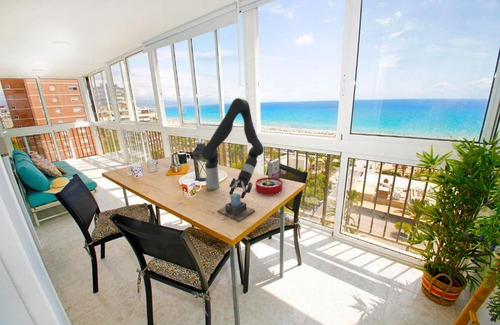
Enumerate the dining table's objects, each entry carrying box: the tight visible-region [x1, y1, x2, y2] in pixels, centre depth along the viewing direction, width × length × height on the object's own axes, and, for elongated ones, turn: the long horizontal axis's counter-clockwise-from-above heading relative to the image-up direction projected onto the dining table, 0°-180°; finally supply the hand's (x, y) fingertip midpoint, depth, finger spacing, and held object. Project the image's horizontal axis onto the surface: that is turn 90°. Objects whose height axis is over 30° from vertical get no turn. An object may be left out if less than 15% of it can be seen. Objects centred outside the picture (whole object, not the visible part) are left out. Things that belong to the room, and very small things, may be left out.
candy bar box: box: [266, 158, 280, 179], centre depth 166 cm, size 11×5×16 cm, turn 139°
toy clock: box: [255, 177, 283, 196], centre depth 148 cm, size 20×6×20 cm
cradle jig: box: [217, 200, 256, 223], centre depth 118 cm, size 18×14×5 cm
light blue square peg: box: [230, 192, 242, 208], centre depth 117 cm, size 4×4×10 cm
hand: (235, 196), depth 117 cm, fingers open, 8 cm apart
